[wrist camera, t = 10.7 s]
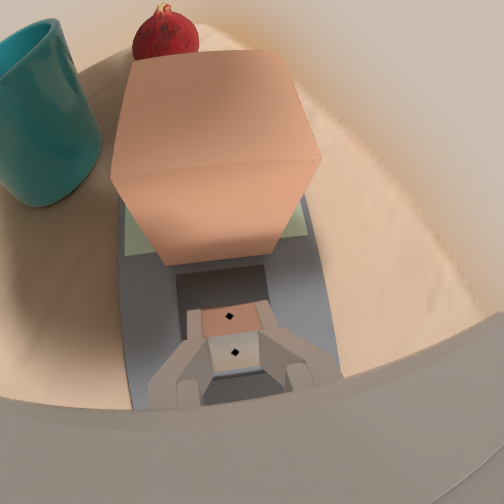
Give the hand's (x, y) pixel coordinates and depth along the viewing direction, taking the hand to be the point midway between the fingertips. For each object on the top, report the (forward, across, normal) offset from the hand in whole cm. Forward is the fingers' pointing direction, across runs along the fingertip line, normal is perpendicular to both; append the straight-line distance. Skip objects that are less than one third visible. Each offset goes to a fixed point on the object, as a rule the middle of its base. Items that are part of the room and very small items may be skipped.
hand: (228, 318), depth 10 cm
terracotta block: (+8, 0, -1) cm, 9 cm away
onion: (+20, +3, -12) cm, 23 cm away
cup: (+15, +13, -7) cm, 21 cm away
